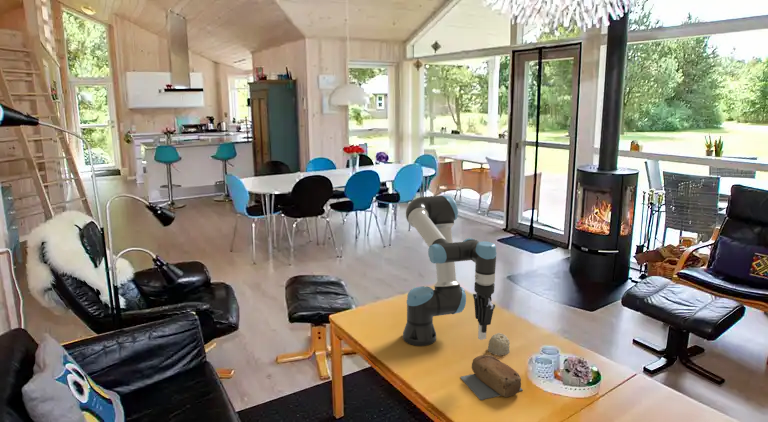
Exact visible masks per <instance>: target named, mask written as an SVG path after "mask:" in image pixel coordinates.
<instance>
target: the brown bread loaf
mask: <svg viewBox="0 0 768 422" xmlns="http://www.w3.org/2000/svg"><path fill="white" fill-rule="evenodd" d="M471 369H472V372H473V374H475V375H476V377H477V378H478V379H480V380H481V381H482V382H483V383H485V384H486V385H487V386H489V387H490V388H491V389H493V390H494V391H496V392H497V393H499V394H500V395H502V397H504V398H509V397H511V396H514V395H517V394H519V392H521V391H520V388H522V378H521V375H520V374H519V372H517V371H516V370H515V369H514V368H513V367H511V366H510V365H508V364H506V363H504V362H502V361H501V360H500V359H499V358H497V357H495V356H493V355H492V354H483V355H477V356H475V357H474V358H473V359H472V362H471Z"/></svg>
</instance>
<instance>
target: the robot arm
mask: <svg viewBox="0 0 768 422" xmlns="http://www.w3.org/2000/svg"><path fill="white" fill-rule="evenodd" d="M458 215H459V210H458V205H457V202H456V201H455V199H454V198H453V197H452V196H450V195H432V196H431V195H430V196H420V197H419V196H418V197H416V198H415V199H412V200H411V202H410V203H409V204H408V205H407V207H406V209H405V218H406V221H407V222H408V224H409V225H410V227H413V228H415V230H416V231H417V233H418V234H419V236H420V237H421V238H422V240H423V241H424V243H425V244H426V245H427V247H428V250H427V251H428V252H427V253H428V258H429V261H430V262H431V264H435V270H436V271H435V272H436V283H435V284H434V286H433V287H434V289H433V288H432V287H431V286H417V287H413V288H412V289H410V290H409V291H408V293H407V298H406V323H405V326H404V329H403V332H402V340H403V341H404V342H405V343H407V344H408V345H412V346H417V347H418V346H419V347H422V346H423V347H426V346H429V345H432V344H434V343H435V342H436V340H437V332H436V329H435V326H434V323H433V321H434V317H439V316H447V315H455V314H460V313H462V312H463V311H465V310H464V309H465V307H466V302H467V294H466V290H465V288H464V287H462V286H461V284H460V282H459V281H457V277H456V276H457V275H456V274H457V273H456V264H455V263H456V262H466V261H471V262H474V263H475V268H474V272H475V273H474V289H473V290H474V292H475V293H473V294H472V297H473V303H474V314H475V315H474V316H475V319H476V320H477V322H478V328H477V329H478V330H477V331H478V333H477V336H478V337H477V338H478V340H479V341H483V340H486V339H487V333H488V332H487V329H488V326H490V325H491V323H492V319H493V314H494V310H495V308H496V304H493V303H492V295H493V294H494V293H495V282H496V266H497V265H496V264H497V246H496V244H495V243H494V242H490V241H484V240H483V241H479V240H477V239H475V238H470V237H469V238H466V239H464V240H463V241H459V242H458V241H457V242H453V235H452V227H453V226H454V225H455V221H456V220H457V219H458V217H459V216H458Z"/></svg>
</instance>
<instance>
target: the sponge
mask: <svg viewBox="0 0 768 422" xmlns="http://www.w3.org/2000/svg"><path fill="white" fill-rule="evenodd" d="M510 344H511V342H510V339H509V338H508V336H507V335H506V334H504V333H501V332H497V333H495V334H492V335H491V338H489V340H488V345H487V346H488V347H487V352H489V353H490V354H491V355H492V354H493V355H496V356H500V357H501V356H505V355H508V354H509V353H510Z"/></svg>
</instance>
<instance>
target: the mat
mask: <svg viewBox="0 0 768 422" xmlns="http://www.w3.org/2000/svg"><path fill="white" fill-rule="evenodd" d="M459 378H460V379H461V380H462V381H463V383H464V384H465V385H466V387H468V389H470V390H471V391H472V392H473V394H475V396H476V397H477V398H478V399H479V400H480V401H483V400H488V399H491V398H492V399H493V398H496V397H501V396H502V395H500V394H499V393H497V392H496V391H494V390H493V389H491V388H490V387H489V386H487V385H486V384H485V383H483V382H482V381H481V380H480V379H478V378H477V377H476V375H475V373H471V374H467V375H463V376H459ZM519 392H523V388H522V387H521V388H520V391H519ZM502 397H503V396H502Z"/></svg>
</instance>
